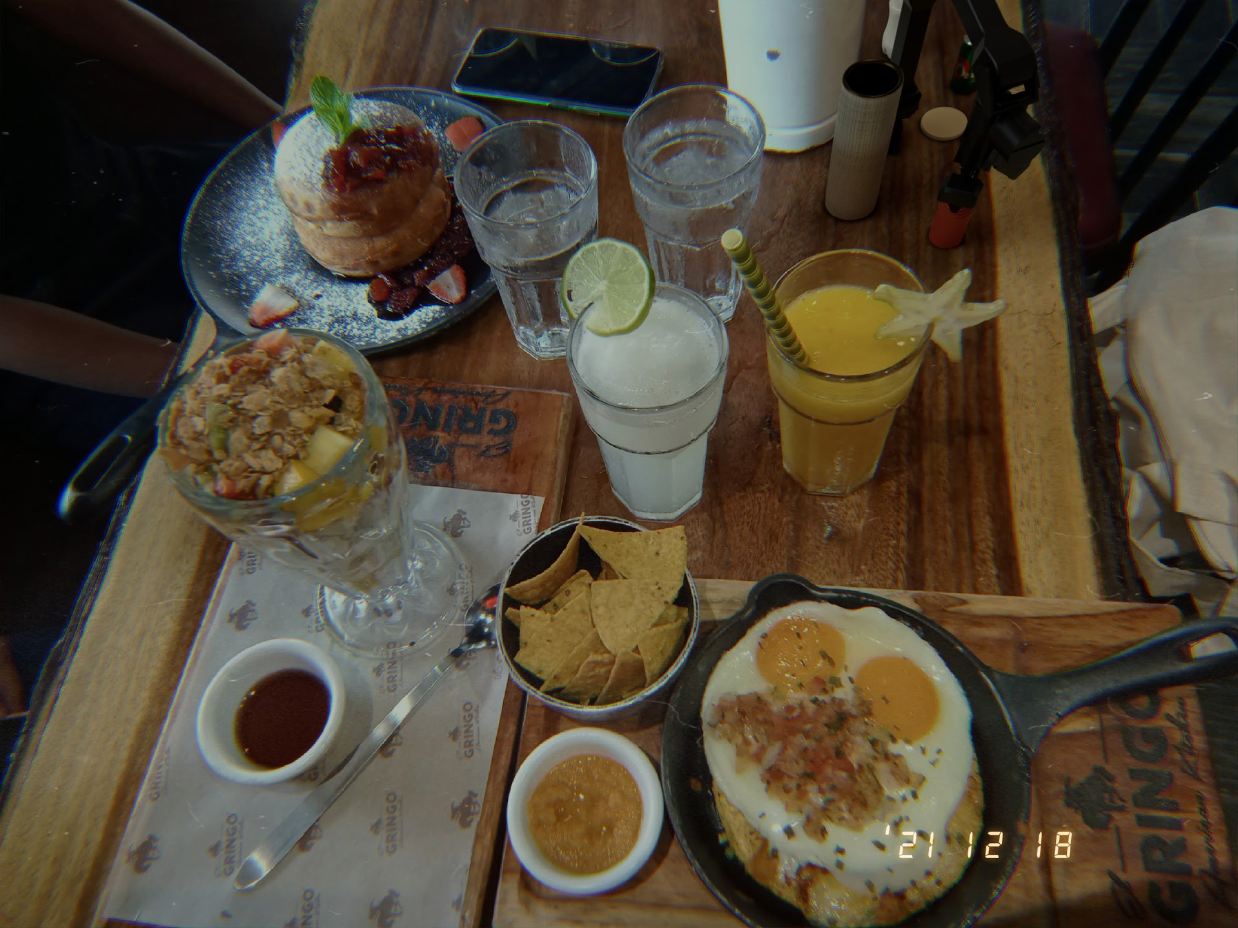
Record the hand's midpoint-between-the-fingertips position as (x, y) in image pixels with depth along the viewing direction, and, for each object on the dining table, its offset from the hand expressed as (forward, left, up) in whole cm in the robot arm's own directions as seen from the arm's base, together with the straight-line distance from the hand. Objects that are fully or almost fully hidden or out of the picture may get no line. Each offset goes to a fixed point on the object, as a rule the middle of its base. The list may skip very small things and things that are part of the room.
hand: (959, 199), depth 131 cm
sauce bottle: (0, 0, -9) cm, 9 cm away
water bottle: (-4, +54, -10) cm, 55 cm away
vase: (-17, +10, -10) cm, 22 cm away
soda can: (+8, +41, -10) cm, 43 cm away
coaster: (+3, +30, -9) cm, 32 cm away
